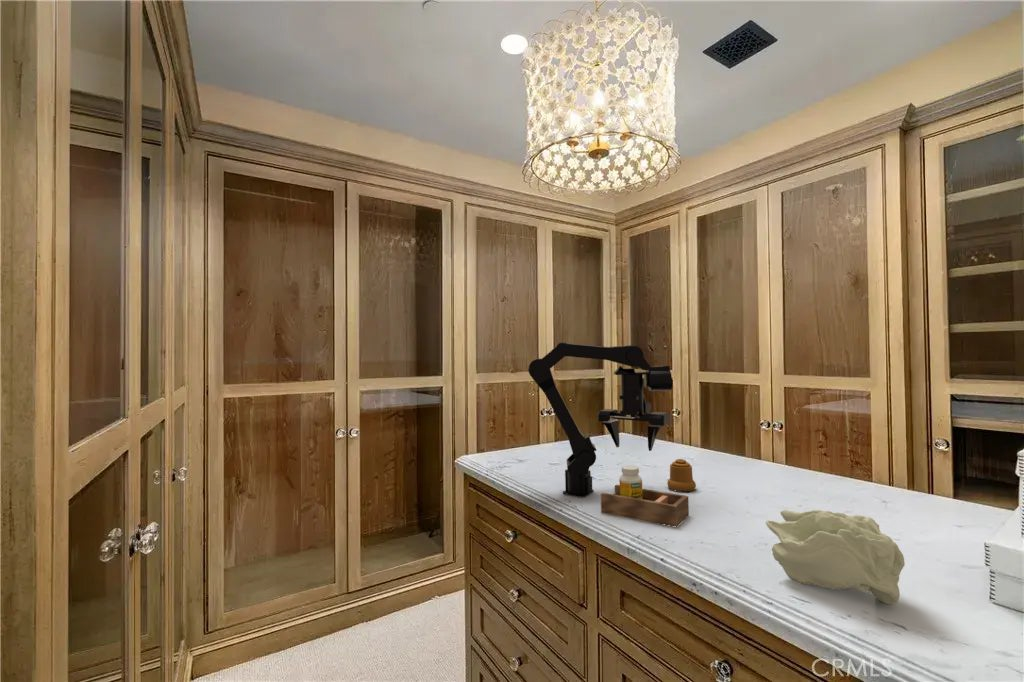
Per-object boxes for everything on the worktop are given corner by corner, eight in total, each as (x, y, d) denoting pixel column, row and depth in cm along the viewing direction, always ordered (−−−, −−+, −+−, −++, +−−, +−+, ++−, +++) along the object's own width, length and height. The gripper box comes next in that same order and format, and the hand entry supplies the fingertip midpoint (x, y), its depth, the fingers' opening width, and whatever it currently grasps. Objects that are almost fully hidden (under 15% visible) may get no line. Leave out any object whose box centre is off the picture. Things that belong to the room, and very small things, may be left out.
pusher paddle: (653, 515, 109) (653, 502, 109) (663, 507, 114) (662, 495, 114) (658, 516, 108) (658, 503, 108) (668, 508, 113) (667, 496, 113)
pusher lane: (601, 512, 115) (600, 493, 115) (616, 502, 122) (616, 484, 122) (676, 527, 104) (675, 506, 104) (688, 515, 112) (688, 495, 112)
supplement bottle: (630, 502, 119) (629, 463, 119) (647, 507, 115) (646, 467, 115) (615, 506, 116) (614, 466, 116) (632, 512, 112) (631, 471, 112)
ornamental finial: (692, 485, 136) (698, 493, 128) (665, 484, 137) (669, 492, 130) (692, 457, 136) (697, 463, 129) (664, 456, 137) (668, 462, 130)
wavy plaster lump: (797, 620, 80) (745, 529, 84) (842, 582, 85) (791, 499, 90) (903, 630, 64) (833, 518, 69) (949, 583, 70) (881, 482, 74)
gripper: (676, 389, 131) (677, 447, 130) (612, 388, 142) (614, 440, 142) (662, 393, 122) (664, 454, 121) (595, 391, 133) (597, 447, 133)
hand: (633, 448), depth 130 cm, fingers open, 9 cm apart
